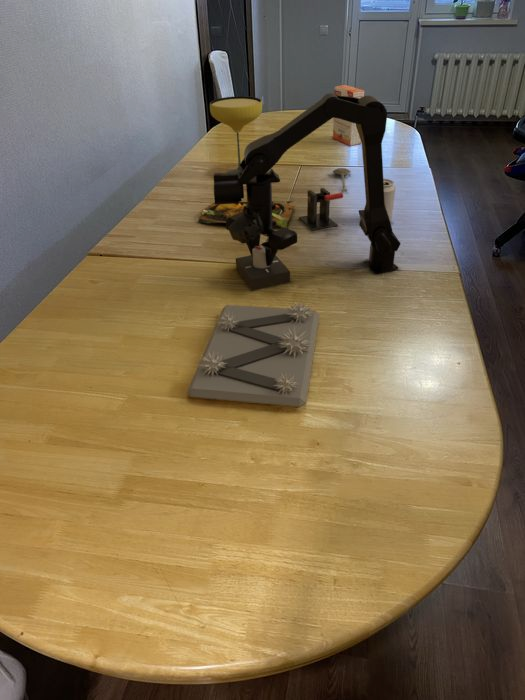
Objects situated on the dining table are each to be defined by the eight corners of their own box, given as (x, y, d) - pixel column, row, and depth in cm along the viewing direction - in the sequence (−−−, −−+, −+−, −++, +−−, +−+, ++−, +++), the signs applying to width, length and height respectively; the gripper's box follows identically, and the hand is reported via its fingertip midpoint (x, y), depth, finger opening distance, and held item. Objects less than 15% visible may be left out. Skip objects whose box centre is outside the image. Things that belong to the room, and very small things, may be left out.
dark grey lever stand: (337, 227, 151) (339, 195, 145) (312, 232, 149) (313, 199, 143) (322, 215, 159) (323, 184, 153) (298, 220, 157) (299, 188, 151)
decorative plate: (224, 312, 117) (221, 284, 112) (319, 318, 113) (320, 289, 109) (186, 401, 93) (181, 371, 89) (305, 412, 90) (305, 381, 85)
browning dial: (274, 264, 128) (274, 248, 125) (262, 270, 125) (261, 254, 123) (262, 258, 130) (261, 242, 128) (249, 264, 128) (248, 248, 125)
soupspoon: (350, 173, 190) (332, 174, 191) (350, 164, 189) (332, 165, 189) (354, 193, 172) (334, 194, 173) (354, 182, 171) (334, 184, 171)
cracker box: (331, 138, 226) (334, 86, 214) (343, 136, 228) (346, 84, 216) (349, 146, 216) (352, 91, 203) (361, 144, 218) (365, 89, 205)
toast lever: (343, 199, 140) (342, 190, 139) (327, 202, 139) (326, 193, 138) (324, 200, 151) (323, 192, 151) (309, 203, 150) (308, 194, 149)
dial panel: (290, 282, 126) (290, 270, 124) (251, 290, 124) (250, 278, 122) (272, 261, 135) (272, 250, 134) (236, 268, 133) (235, 257, 131)
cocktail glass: (271, 178, 188) (270, 103, 173) (224, 186, 183) (218, 110, 168) (254, 164, 201) (251, 94, 186) (209, 171, 196) (203, 99, 181)
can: (391, 227, 150) (396, 186, 143) (365, 226, 151) (368, 185, 144) (391, 217, 156) (396, 177, 149) (366, 216, 157) (369, 176, 150)
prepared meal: (194, 213, 154) (214, 190, 168) (195, 224, 156) (215, 201, 170) (286, 223, 148) (299, 199, 162) (285, 234, 150) (298, 210, 164)
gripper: (206, 201, 119) (212, 262, 129) (263, 222, 108) (266, 287, 118) (241, 188, 125) (244, 247, 135) (299, 207, 115) (298, 269, 124)
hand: (262, 262), depth 128 cm, fingers closed on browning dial, 4 cm apart
